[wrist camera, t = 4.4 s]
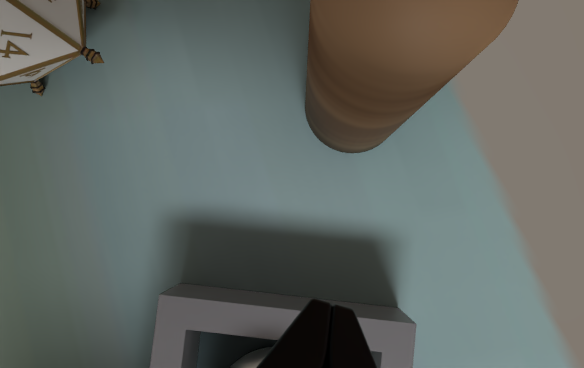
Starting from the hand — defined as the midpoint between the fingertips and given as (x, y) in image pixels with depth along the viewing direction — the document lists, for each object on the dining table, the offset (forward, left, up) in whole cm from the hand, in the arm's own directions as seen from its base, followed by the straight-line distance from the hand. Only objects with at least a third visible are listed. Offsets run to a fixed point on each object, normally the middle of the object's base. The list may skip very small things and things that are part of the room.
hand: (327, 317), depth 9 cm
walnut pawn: (+7, -1, -12) cm, 14 cm away
